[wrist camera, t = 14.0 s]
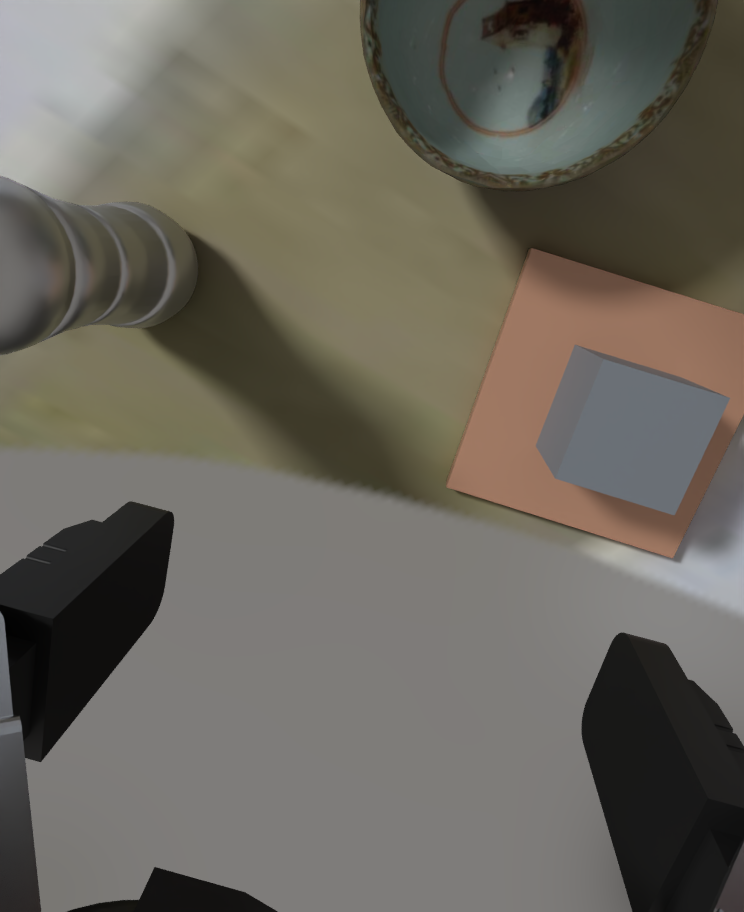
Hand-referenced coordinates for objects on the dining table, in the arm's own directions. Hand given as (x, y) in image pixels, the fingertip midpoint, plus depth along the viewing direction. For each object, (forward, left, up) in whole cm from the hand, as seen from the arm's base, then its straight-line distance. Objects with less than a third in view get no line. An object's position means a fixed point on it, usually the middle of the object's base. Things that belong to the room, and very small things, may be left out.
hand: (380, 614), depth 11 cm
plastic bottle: (-1, -16, -27) cm, 31 cm away
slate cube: (-1, +11, -26) cm, 28 cm away
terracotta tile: (-1, +11, -27) cm, 29 cm away
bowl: (-16, 0, -27) cm, 32 cm away
